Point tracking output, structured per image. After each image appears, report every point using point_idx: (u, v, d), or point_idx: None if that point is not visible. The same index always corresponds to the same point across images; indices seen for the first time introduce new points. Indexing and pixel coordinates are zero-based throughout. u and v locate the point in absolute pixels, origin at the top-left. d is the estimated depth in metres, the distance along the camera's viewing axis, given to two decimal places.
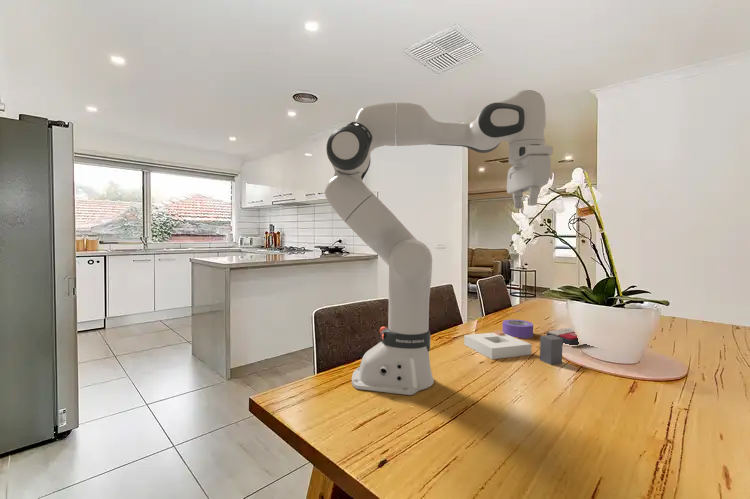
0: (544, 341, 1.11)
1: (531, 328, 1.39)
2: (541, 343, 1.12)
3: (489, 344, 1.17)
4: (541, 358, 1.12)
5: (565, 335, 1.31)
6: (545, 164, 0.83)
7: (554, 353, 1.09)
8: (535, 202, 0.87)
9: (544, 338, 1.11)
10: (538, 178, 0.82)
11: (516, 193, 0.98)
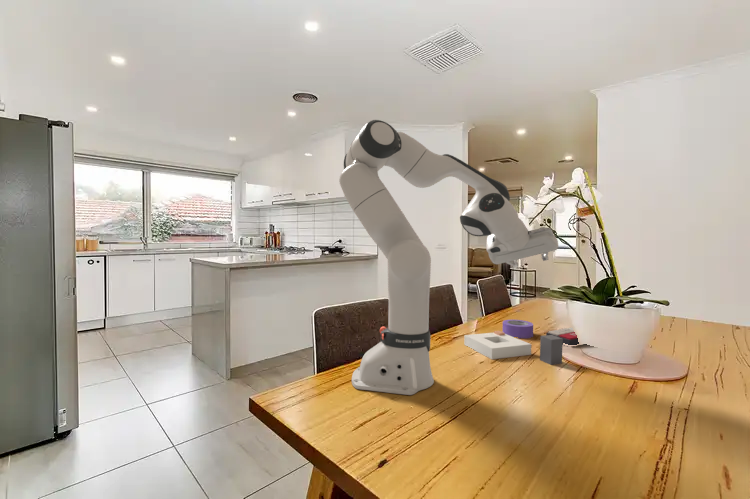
0: (544, 341, 1.11)
1: (531, 328, 1.39)
2: (541, 343, 1.12)
3: (489, 344, 1.17)
4: (541, 358, 1.12)
5: (565, 335, 1.31)
6: None
7: (554, 353, 1.09)
8: None
9: (544, 338, 1.11)
10: None
11: None
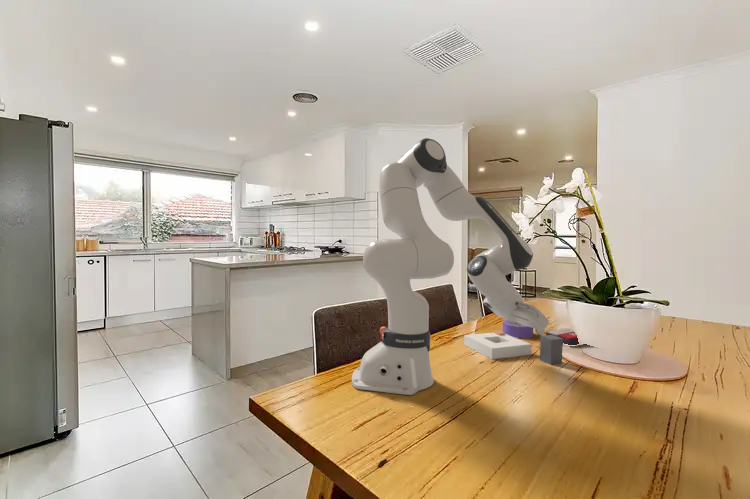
0: (544, 341, 1.11)
1: (531, 328, 1.39)
2: (541, 343, 1.12)
3: (489, 344, 1.17)
4: (541, 358, 1.12)
5: (564, 335, 1.31)
6: None
7: (554, 353, 1.09)
8: None
9: (544, 338, 1.11)
10: None
11: None
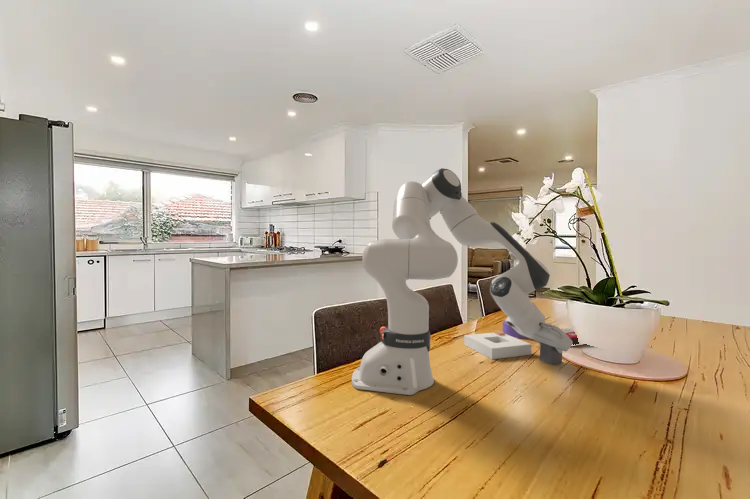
0: None
1: None
2: (541, 343, 1.12)
3: (489, 344, 1.17)
4: (541, 358, 1.12)
5: None
6: None
7: (554, 353, 1.09)
8: None
9: None
10: None
11: None
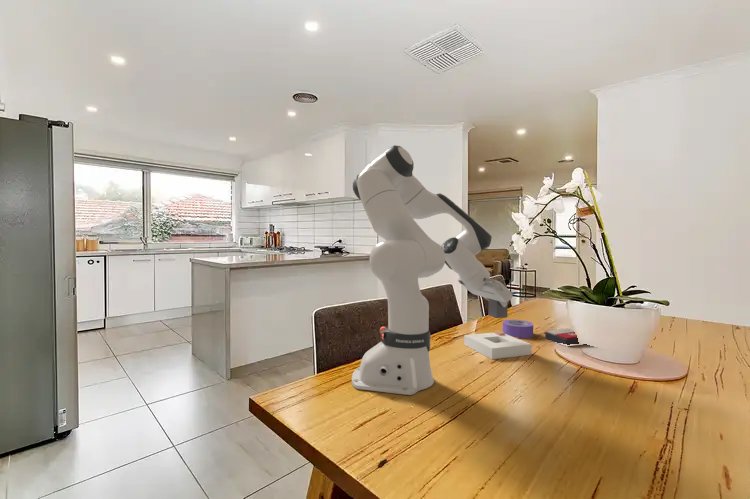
0: None
1: (531, 328, 1.39)
2: (489, 300, 1.23)
3: (489, 344, 1.17)
4: (489, 313, 1.23)
5: (562, 335, 1.31)
6: None
7: (500, 307, 1.20)
8: None
9: None
10: None
11: None
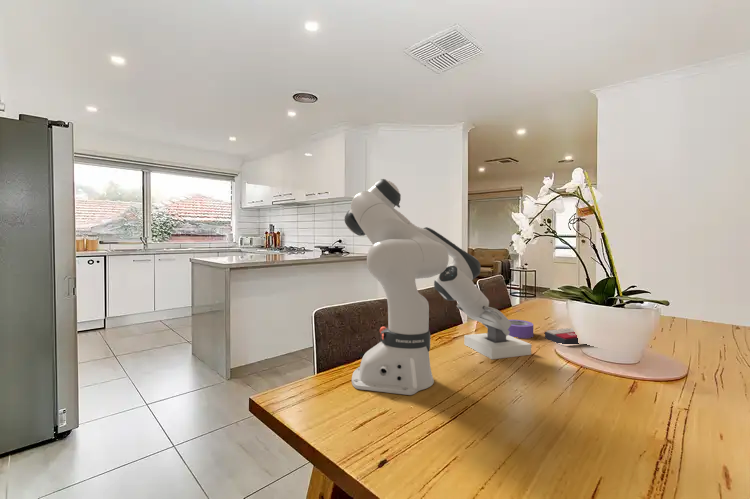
0: (490, 327, 1.23)
1: (531, 328, 1.39)
2: (488, 329, 1.24)
3: (489, 344, 1.17)
4: None
5: (561, 334, 1.32)
6: None
7: (498, 338, 1.20)
8: None
9: None
10: None
11: None
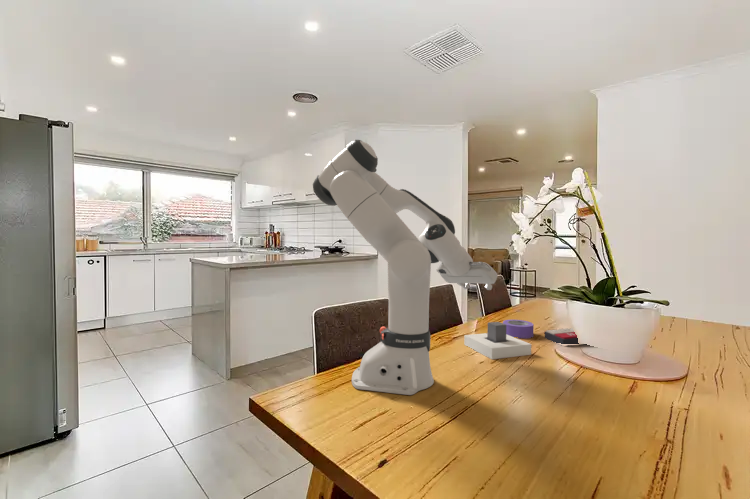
0: (490, 327, 1.23)
1: (531, 328, 1.39)
2: (488, 329, 1.24)
3: (489, 344, 1.17)
4: None
5: (560, 334, 1.32)
6: None
7: (498, 338, 1.20)
8: None
9: (490, 324, 1.23)
10: None
11: None
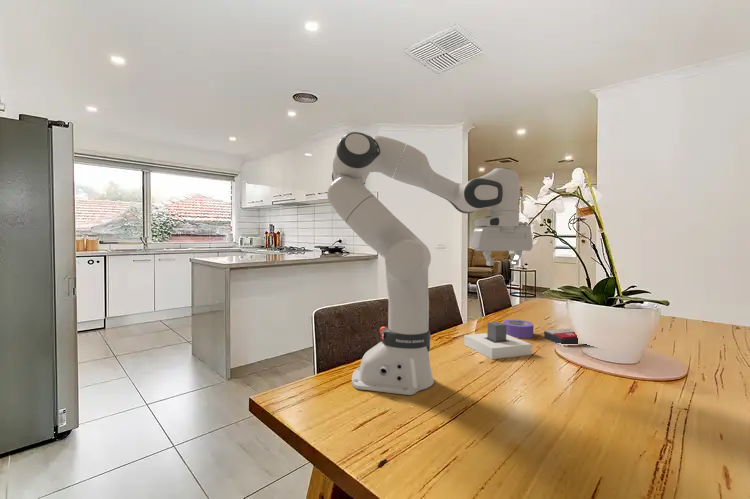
0: (490, 327, 1.23)
1: (531, 328, 1.39)
2: (488, 329, 1.24)
3: (489, 344, 1.17)
4: None
5: (559, 334, 1.32)
6: (478, 235, 1.04)
7: (498, 338, 1.20)
8: (489, 263, 1.06)
9: (490, 324, 1.23)
10: (474, 246, 1.06)
11: None
